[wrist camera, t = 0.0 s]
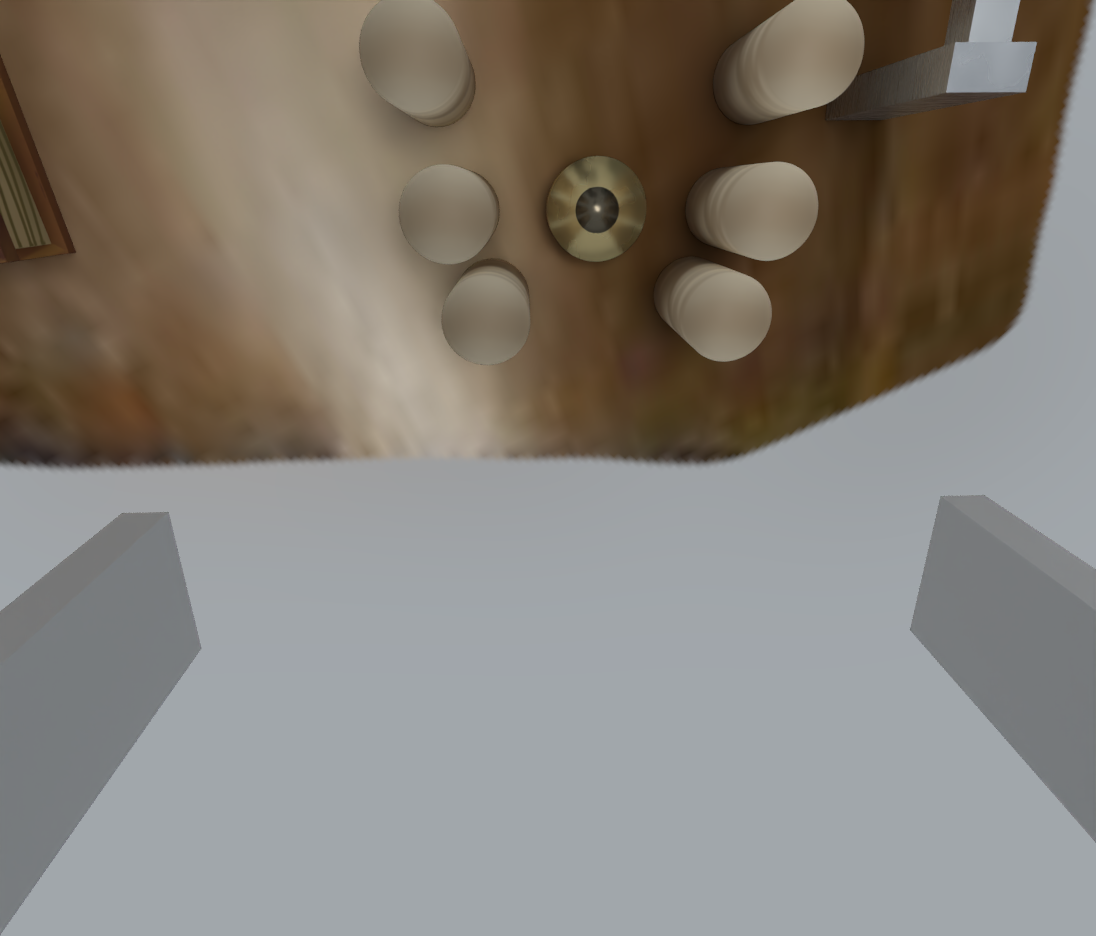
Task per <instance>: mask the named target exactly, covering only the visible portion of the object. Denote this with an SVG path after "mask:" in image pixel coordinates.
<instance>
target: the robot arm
mask: <svg viewBox="0 0 1096 936" xmlns="http://www.w3.org/2000/svg"><path fill="white" fill-rule="evenodd" d="M910 630H911V631H912V633H913V634H914V635H915V636H916V637H917V638H918V640H919V641H920V642H921V643H922V644H923V645H924V646H925V648H926V649H927V650H928V651H929V652H930V653H931V654H932V656H933V657H934V658H935V659H936V660H937V661H938V662H939V664H940V665H941V666H942V667H943V668H944V669H945V670H946V672H947V673H948V674H949V675H950V676H951V677H952V678H953V680H954V681H955V682H956V683H957V684H958V685H959V686H960V688H961V689H962V690H963V691H964V692H965V693H966V694H967V696H968V697H969V698H970V699H971V700H972V701H973V703H974V704H975V705H976V706H977V707H978V708H979V709H980V710H981V712H982V713H983V714H984V715H985V716H986V717H987V719H988V720H989V721H990V722H991V723H992V724H993V725H994V727H995V728H996V729H997V730H998V731H999V732H1000V733H1001V735H1002V736H1003V737H1004V738H1005V739H1006V740H1007V741H1008V742H1009V744H1010V745H1011V746H1012V747H1013V748H1014V749H1015V750H1016V752H1017V753H1018V754H1019V755H1020V756H1021V757H1022V759H1023V760H1024V761H1025V762H1026V763H1027V764H1028V765H1029V766H1030V768H1031V769H1032V770H1033V771H1034V772H1035V773H1036V775H1037V776H1038V777H1039V778H1040V779H1041V780H1042V781H1043V782H1044V784H1045V785H1046V786H1047V787H1048V788H1049V789H1050V791H1051V792H1052V793H1053V794H1054V795H1055V796H1056V797H1057V799H1058V800H1059V801H1060V802H1061V803H1062V804H1063V805H1064V807H1065V808H1066V809H1067V810H1068V811H1069V812H1070V813H1071V815H1072V816H1073V817H1074V818H1075V819H1076V820H1077V821H1078V823H1079V824H1080V825H1081V826H1082V827H1083V828H1084V829H1085V831H1086V832H1087V833H1088V834H1089V835H1090V836H1091V837H1092V839H1093V840H1094V841H1095V842H1096V569H1094V568H1093V567H1091V566H1090V565H1088V564H1087V563H1085V562H1084V561H1082V560H1081V559H1079V558H1078V557H1076V556H1075V555H1073V554H1072V553H1070V552H1069V551H1067V550H1066V549H1064V548H1063V547H1061V546H1060V545H1058V544H1057V543H1055V542H1054V541H1052V540H1051V539H1049V538H1048V537H1046V536H1045V535H1043V534H1042V533H1040V532H1039V531H1037V530H1035V529H1034V528H1033V527H1031V526H1030V525H1028V524H1027V523H1025V522H1024V521H1022V520H1021V519H1019V518H1018V517H1016V516H1015V515H1013V514H1012V513H1010V512H1009V511H1007V510H1006V509H1004V508H1003V507H1001V506H1000V505H998V504H997V503H995V502H994V501H992V500H991V499H989V498H988V497H986V496H985V495H975V496H974V495H971V496H941V497H940V501H939V506H938V510H937V514H936V519H935V523H934V527H933V532H932V536H931V540H930V545H929V549H928V554H927V558H926V562H925V567H924V571H923V575H922V580H921V584H920V588H919V593H918V597H917V601H916V606H915V610H914V615H913V619H912V624H911V628H910ZM200 649H201V645H200V641H199V637H198V632H197V628H196V624H195V620H194V616H193V612H192V607H191V603H190V599H189V595H188V591H187V587H186V583H185V579H184V574H183V570H182V566H181V562H180V558H179V554H178V549H177V545H176V541H175V538H174V533H173V529H172V525H171V520H170V517H169V513H168V512H164V513H163V512H160V513H122V514H120V515H119V516H118V517H117V518H115V519H114V520H113V521H112V522H111V523H109V524H108V525H107V526H106V527H104V528H103V529H102V530H101V531H99V532H98V533H97V534H96V535H94V536H93V537H92V538H91V539H89V540H88V541H87V542H86V543H85V544H83V545H82V546H81V547H80V548H78V549H77V550H76V551H75V552H73V553H72V554H71V555H70V556H69V557H67V558H66V559H65V560H63V561H62V562H61V563H60V564H58V565H57V566H56V567H55V568H54V569H52V570H51V571H50V572H49V573H47V574H46V575H45V576H44V577H42V578H41V579H40V580H39V581H38V582H36V583H35V584H34V585H32V586H31V587H30V588H29V589H28V590H26V591H25V592H24V593H23V594H21V595H20V596H19V597H18V598H16V599H15V600H14V601H13V602H11V603H10V604H9V605H8V606H6V607H5V608H4V609H3V610H1V611H0V934H1V933H2V932H3V930H4V929H5V927H6V926H7V924H8V923H9V922H10V920H11V919H12V917H13V916H14V915H15V913H16V912H17V910H18V909H19V907H20V906H21V904H22V903H23V902H24V900H25V898H26V897H27V896H28V894H29V893H30V892H31V890H32V889H33V887H34V886H35V885H36V883H37V882H38V880H39V879H40V877H41V876H42V875H43V873H44V872H45V870H46V869H47V868H48V866H49V865H50V863H51V862H52V860H53V859H54V858H55V856H56V855H57V853H58V852H59V850H60V849H61V847H62V846H63V845H64V843H65V842H66V840H67V839H68V838H69V836H70V835H71V833H72V832H73V830H74V829H75V828H76V826H77V825H78V823H79V822H80V821H81V819H82V818H83V816H84V815H85V813H86V812H87V811H88V809H89V808H90V806H91V805H92V803H93V802H94V801H95V799H96V798H97V796H98V795H99V793H100V792H101V791H102V789H103V788H104V786H105V785H106V783H107V782H108V781H109V779H110V778H111V776H112V775H113V773H114V772H115V770H116V769H117V768H118V766H119V765H120V763H121V762H122V761H123V759H124V758H125V756H126V755H127V753H128V752H129V751H130V749H131V748H132V746H133V745H134V743H135V742H136V741H137V739H138V738H139V737H140V735H141V734H142V732H143V731H144V729H145V728H146V726H147V725H148V723H149V722H150V721H151V719H152V718H153V716H154V715H155V714H156V712H157V711H158V709H159V708H160V707H161V705H162V704H163V702H164V701H165V699H166V698H167V696H168V695H169V694H170V692H171V691H172V690H173V688H174V687H175V685H176V684H177V682H178V681H179V680H180V678H181V677H182V675H183V674H184V672H185V671H186V670H187V668H188V667H189V665H190V664H191V662H192V661H193V660H194V658H195V657H196V655H197V654H198V652H199V651H200Z"/></svg>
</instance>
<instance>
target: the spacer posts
mask: <svg viewBox="0 0 1096 936" xmlns="http://www.w3.org/2000/svg"><path fill="white" fill-rule="evenodd" d="M359 52H360V59H361V64H362V67H363V70H364V73H365V75H366V77H367V79H368V81H369V83H370V84H371V86H372V87H373V88H374V90H375V91H376V92H377V93H378V94H379V95H380V96H381V97H382V98H383V99H385V100H386V101H387V102H389V103H390V104H392V105H394V106H395V107H397V108H398V109H400V110H401V111H403V112H405V113H406V114H408V115H409V116H411V117H412V118H414V119H416V120H417V121H419V122H421V123H423V124H425V125H428V126H433V127H443V126H447V125H450V124H453V123H455V122H456V121H458V120H459V119H460V118H462V117H463V116H464V115H465V113H466V112H467V111H468V109H469V108H470V106H471V104H472V101H473V98H474V94H475V75H474V70H473V67H472V64H471V62H470V60H469V57H468V55H467V53H466V50H465V48H464V45H463V43H462V41H461V38H460V36H459V34H458V31H457V29H456V27H455V25H454V23H453V21H452V20H451V18H450V16H449V15H448V14H447V13H446V11H445V10H444V9H443V8H442V7H441V6H440V5H438V4H437V3H436V2H434V1H433V0H381V1H380V2H379V3H378V4H376V5H375V6H374V8H373V9H372V10H371V11H370V13H369V14H368V16H367V17H366V19H365V21H364V24H363V27H362V30H361V34H360V42H359ZM863 53H864V31H863V27H862V23H861V20H860V18H859V16H858V14H857V12H856V11H855V9H854V8H853V7H852V6H851V4H850V3H848V2H847V1H846V0H795V1H793V2H792V3H790V4H789V5H787V6H786V7H785V8H783V9H782V10H780V11H779V12H777V13H776V14H775V15H773V16H772V17H770V18H769V19H767V20H766V21H764V22H763V23H762V24H760V25H759V26H757V27H756V28H754V29H753V30H752V31H750V32H749V33H747V34H746V35H744V36H743V37H742V38H740V39H739V40H737V41H736V42H734V43H733V44H732V45H731V46H730V47H728V48H727V50H726V51H725V52H724V53H723V55H722V56H721V58H720V60H719V62H718V64H717V66H716V69H715V73H714V79H713V91H714V97H715V100H716V103H717V105H718V107H719V109H720V110H721V111H722V113H723V114H724V115H725V116H726V117H727V118H729V119H730V120H732V121H733V122H736V123H738V124H743V125H754V124H758V123H762V122H765V121H769V120H772V119H776V118H780V117H783V116H787V115H790V114H794V113H797V112H801V111H805V110H808V109H812V108H815V107H819V106H822V105H825V104H827V103H829V102H831V101H833V100H834V99H836V98H837V97H838V96H840V95H841V94H842V93H843V92H844V91H845V90H846V89H847V88H848V86H849V85H850V84H851V82H852V81H853V79H854V78H855V76H856V74H857V72H858V70H859V67H860V65H861V62H862V58H863ZM499 212H500V209H499V202H498V198H497V195H496V193H495V191H494V189H493V188H492V186H491V185H490V184H489V182H488V181H487V180H486V179H484V178H483V177H482V176H480V175H479V174H477V173H475V172H472V171H469V170H466V169H463V168H460V167H457V166H453V165H447V164H440V165H434V166H430V167H427V168H425V169H423V170H421V171H419V172H418V173H417V174H416V175H414V176H413V177H412V178H411V179H410V181H409V182H408V183H407V185H406V187H405V188H404V190H403V193H402V195H401V199H400V204H399V219H400V224H401V228H402V231H403V233H404V236H405V237H406V239H407V241H408V242H409V244H410V245H411V246H412V247H413V248H414V250H415V251H417V252H418V253H419V254H420V255H421V256H423V257H425V258H426V259H428V260H430V261H433V262H436V263H440V264H457V263H461V262H464V261H467V260H469V259H470V258H472V257H474V256H475V255H476V254H477V253H478V252H479V251H481V249H482V248H483V247H484V246H485V244H486V243H487V241H488V240H489V239H490V237H491V236H492V234H493V233H494V231H495V229H496V227H497V224H498V221H499ZM685 214H686V220H687V224H688V226H689V228H690V230H691V232H692V233H693V235H694V236H695V237H696V238H697V239H698V240H700V241H701V242H703V243H705V244H707V245H710V246H713V247H717V248H720V249H723V250H727V251H730V252H733V253H736V254H740V255H743V256H746V257H749V258H753V259H756V260H762V261H770V260H776V259H780V258H783V257H785V256H787V255H789V254H791V253H792V252H794V251H795V250H797V249H798V248H799V247H800V246H801V245H802V244H803V243H804V242H805V241H806V239H807V238H808V237H809V235H810V233H811V232H812V230H813V227H814V225H815V222H816V219H817V214H818V197H817V192H816V189H815V186H814V184H813V182H812V180H811V179H810V178H809V176H808V175H807V174H806V173H805V172H804V171H803V170H801V169H800V168H798V167H797V166H795V165H792V164H790V163H785V162H769V163H760V164H750V165H741V166H732V167H722V168H717V169H714V170H711V171H709V172H707V173H706V174H704V175H703V176H702V177H700V178H699V179H698V180H697V182H696V183H695V184H694V185H693V187H692V188H691V190H690V192H689V195H688V197H687V201H686V208H685ZM654 304H655V307H656V310H657V312H658V314H659V315H660V317H661V318H662V319H663V320H664V321H665V322H666V323H667V324H668V325H669V326H670V327H672V328H673V329H674V330H675V331H676V332H677V333H678V334H679V335H680V336H681V337H682V338H683V339H684V340H685V341H686V342H687V343H688V344H690V345H691V346H692V347H693V348H694V349H695V350H696V351H697V352H698V353H699V354H701V355H702V356H704V357H706V358H708V359H711V360H715V361H732V360H736V359H739V358H742V357H744V356H746V355H747V354H749V353H750V352H752V351H753V350H754V349H755V348H756V347H757V346H758V345H759V344H760V343H761V342H762V340H763V339H764V337H765V336H766V334H767V332H768V329H769V326H770V323H771V316H772V309H771V303H770V299H769V296H768V294H767V292H766V291H765V289H764V288H763V286H762V285H761V284H760V283H759V282H757V281H756V280H755V279H753V278H751V277H749V276H747V275H744V274H742V273H739V272H737V271H734V270H732V269H729V268H727V267H724V266H721V265H719V264H716V263H714V262H711V261H709V260H706V259H703V258H700V257H693V256H690V257H683V258H680V259H677V260H675V261H673V262H672V263H670V264H669V265H668V266H667V267H666V268H665V269H664V270H663V271H662V272H661V274H660V275H659V277H658V279H657V281H656V284H655V287H654ZM442 329H443V332H444V335H445V338H446V340H447V342H448V343H449V345H450V346H451V348H452V349H453V350H454V351H455V352H456V353H457V354H458V355H459V356H461V357H462V358H464V359H466V360H468V361H470V362H472V363H476V364H480V365H494V364H499V363H502V362H504V361H506V360H508V359H510V358H512V357H513V356H514V355H515V354H517V353H518V352H519V350H520V349H521V348H522V347H523V345H524V344H525V342H526V340H527V337H528V334H529V330H530V303H529V289H528V285H527V282H526V280H525V278H524V276H523V275H522V273H521V272H520V271H519V270H518V269H517V268H516V267H515V266H513V265H512V264H510V263H508V262H506V261H504V260H500V259H485V260H481V261H479V262H477V263H475V264H473V265H472V266H470V267H469V268H468V269H467V270H466V272H465V273H464V274H463V276H462V277H461V278H460V280H459V281H458V283H457V284H456V285H455V287H454V288H453V290H452V291H451V292H450V294H449V295H448V297H447V299H446V301H445V303H444V306H443V310H442Z"/></svg>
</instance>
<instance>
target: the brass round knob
mask: <svg viewBox="0 0 1096 936" xmlns="http://www.w3.org/2000/svg"><path fill="white" fill-rule="evenodd" d="M546 213H547V220H548V224H549V227H550V229H551V232H552V234H553V235H554V237H555V238H556V240H557V241H558V243H559V244H560V245H561V246H562V247H563V248H564V249H565V250H566V251H567V252H568V253H570V254H571V255H573V256H575V257H577V258H579V259H582V260H586V261H594V262H598V261H605V260H609V259H612V258H615V257H617V256H619V255H621V254H622V253H623V252H625V251H626V250H627V249H628V248H630V247H631V245H632V244H633V243H634V242H635V241H636V239H637V238H638V236H639V234H640V232H641V230H642V228H643V225H644V222H645V217H646V198H645V193H644V189H643V187H642V185H641V182H640V181H639V179H638V177H637V176H636V175H635V173H634V172H633V171H632V170H631V169H630V168H629V167H628V166H626V165H625V164H624V163H622V162H620V161H618V160H616V159H613V158H610V157H605V156H591V157H587V158H583V159H581V160H578V161H576V162H574V163H573V164H571V165H569V166H568V167H566V168H565V169H564V170H563V171H562V172H561V173H560V174H559V175H558V176H557V178H556V179H555V181H554V182H553V184H552V186H551V188H550V191H549V194H548V198H547V205H546Z"/></svg>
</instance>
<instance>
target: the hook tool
mask: <svg viewBox="0 0 1096 936" xmlns="http://www.w3.org/2000/svg"><path fill="white" fill-rule="evenodd" d="M1019 3H1020V0H953V1H952V7H951V12H950V18H949V23H948V29H947V34H946V40H945V45H944V46H943V47H940V48H937V49H934V50H931V51H928V52H925V53H922V54H919V55H917V56H914V57H911V58H908V59H905V60H902V61H899V62H896V63H893V64H890V65H887V66H884V67H881V68H878V69H875V70H873V71H870V72H867V73H864V74H861V75H858V76H855V78H854V79H853V81H852V82H851V84H850V85H849V86H848V88H847V89H846V90H845V91H844V92H843V93H842V94H841V95H840V96H838V97H837V98H836V99H834V100H833V101H831V102H829V103H827V110H826V118H825V120H884V119H889V118H894V117H900V116H905V115H910V114H915V113H920V112H925V111H931V110H936V109H941V108H946V107H951V106H956V105H962V104H967V103H972V102H977V101H982V100H987V99H993V98H998V97H1003V96H1008V95H1013V94H1018V93H1024V92H1026V88H1027V84H1028V80H1029V75H1030V71H1031V66H1032V62H1033V57H1034V53H1035V49H1036V44H1037V42H1011V41H1012V36H1013V31H1014V26H1015V22H1016V17H1017V12H1018V8H1019Z"/></svg>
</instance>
